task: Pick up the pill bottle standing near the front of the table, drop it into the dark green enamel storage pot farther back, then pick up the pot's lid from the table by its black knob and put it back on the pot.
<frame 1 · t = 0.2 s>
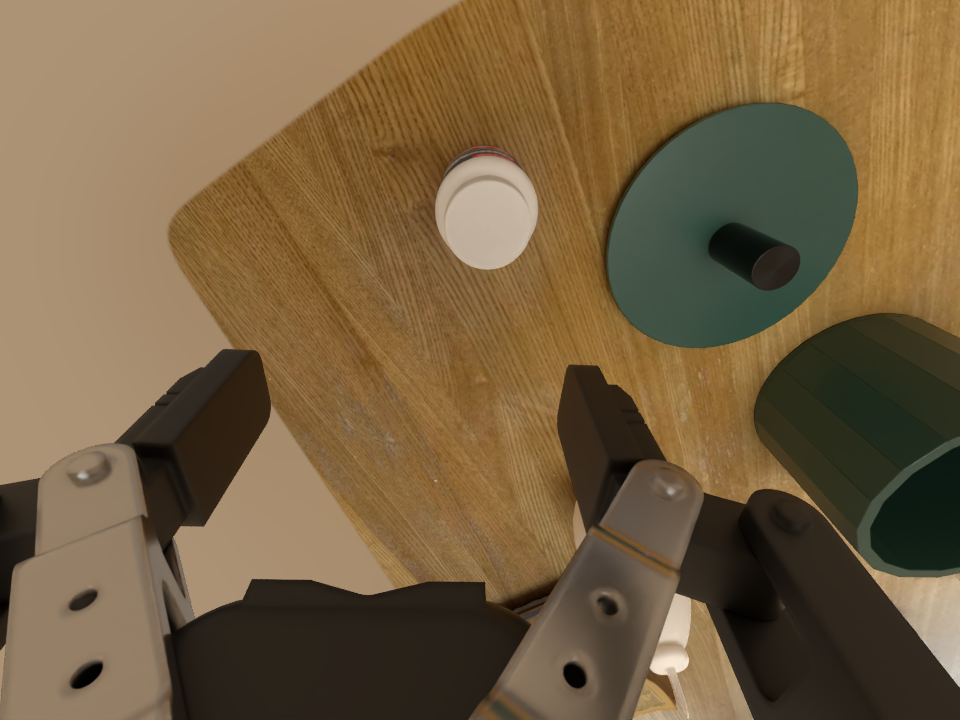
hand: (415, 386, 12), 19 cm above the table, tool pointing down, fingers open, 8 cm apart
pill bottle: (483, 190, 27), on the table
white rubber bulb blower: (603, 481, 41), on the table
book: (564, 639, 55), on the table
lid: (724, 240, 29), point 1 cm above the table
pot: (845, 393, 36), on the table
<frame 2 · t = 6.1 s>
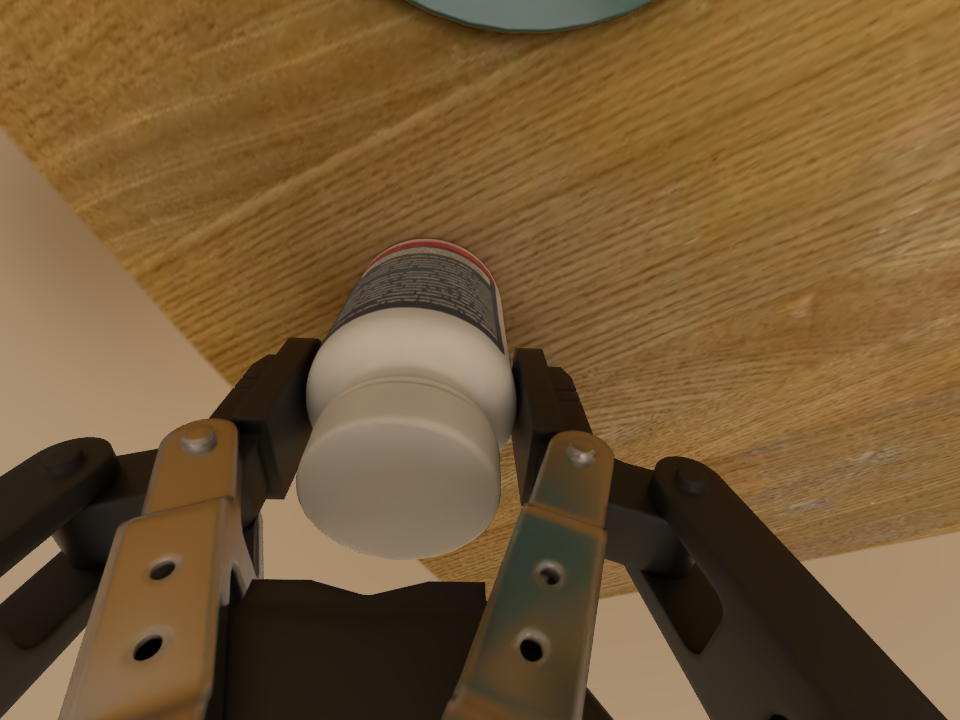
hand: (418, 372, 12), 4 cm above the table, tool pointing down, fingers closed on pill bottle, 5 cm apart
pill bottle: (430, 305, 16), on the table, touching gripper
when the fingers open (9 cm above the table, at t = 15.0 s): pill bottle drops 4 cm, resting on pot.
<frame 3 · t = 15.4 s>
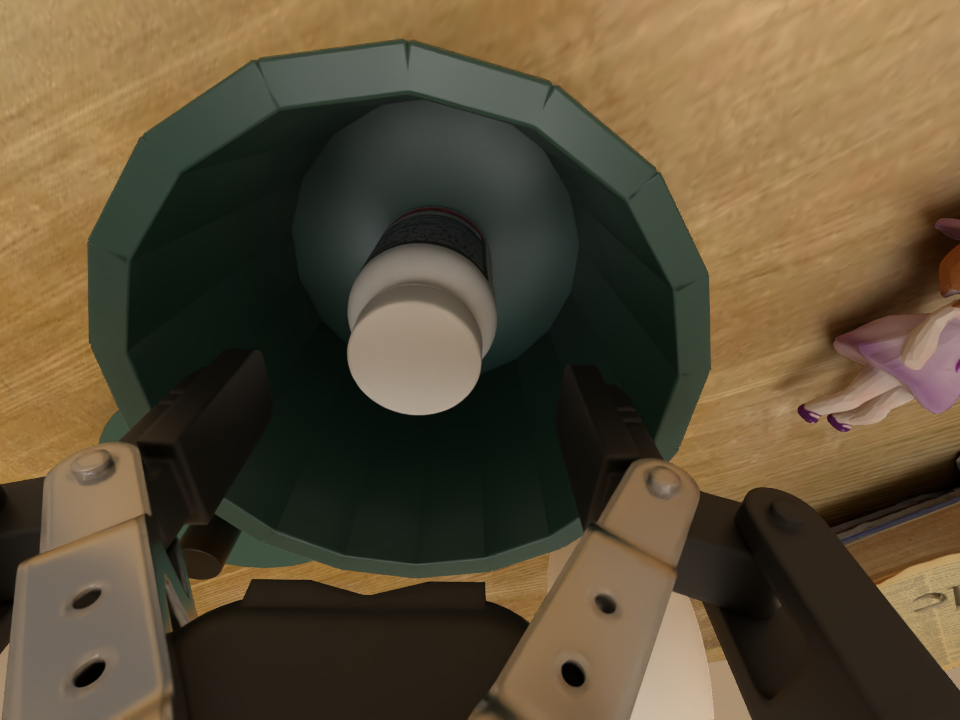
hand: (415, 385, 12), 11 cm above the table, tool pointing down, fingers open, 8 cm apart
pill bottle: (435, 261, 21), resting on pot
white rubber bulb blower: (590, 514, 31), on the table
lid: (241, 484, 27), point 1 cm above the table
figurine: (890, 282, 22), on the table
pot: (438, 258, 21), on the table
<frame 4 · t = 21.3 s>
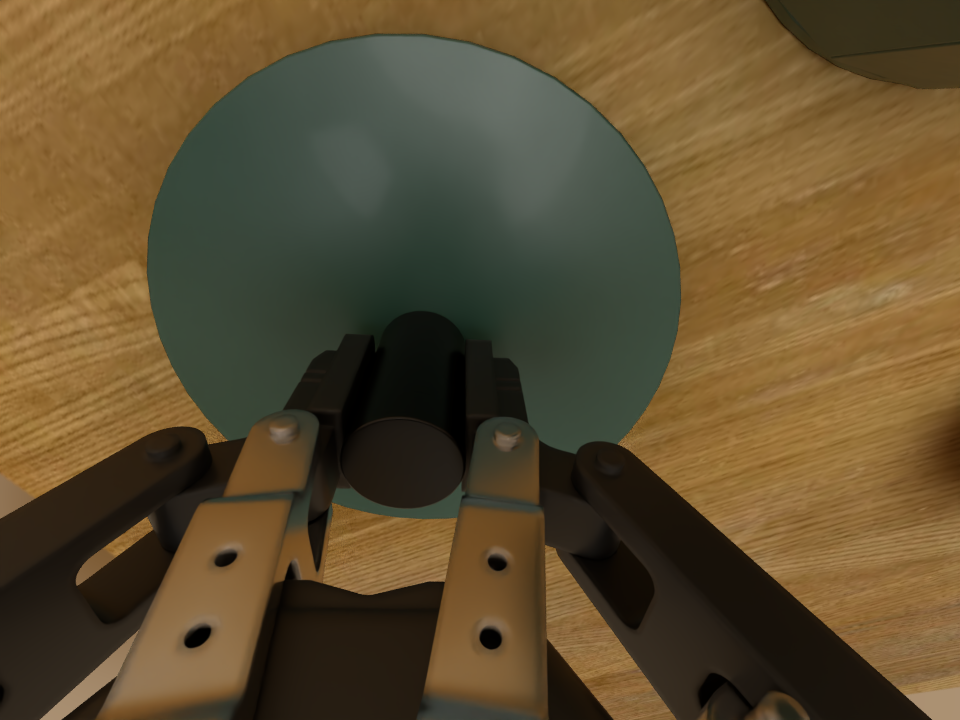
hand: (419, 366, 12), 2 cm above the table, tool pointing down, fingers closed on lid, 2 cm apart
lid: (424, 341, 14), point 1 cm above the table, touching gripper
when the fingers open (13 cm above the table, at t = 29.4 s): lid stays where it is, resting on pot.
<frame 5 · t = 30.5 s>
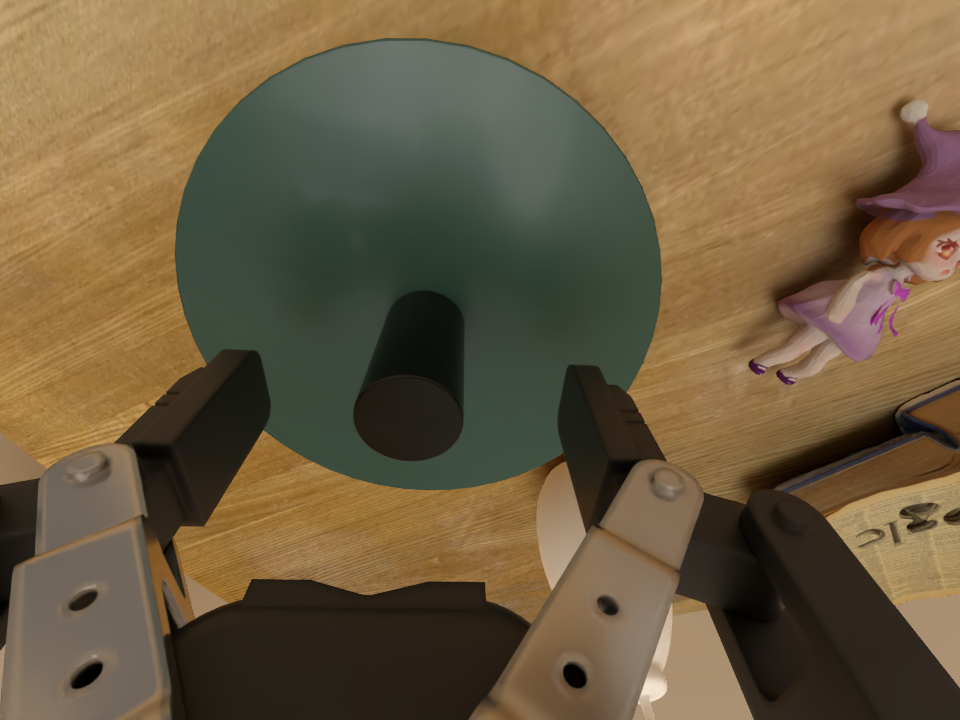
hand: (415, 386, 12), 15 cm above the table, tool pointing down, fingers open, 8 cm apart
white rubber bulb blower: (575, 466, 35), on the table
book: (911, 467, 36), on the table
lid: (426, 320, 15), point 11 cm above the table, touching pot
figurine: (824, 254, 26), on the table
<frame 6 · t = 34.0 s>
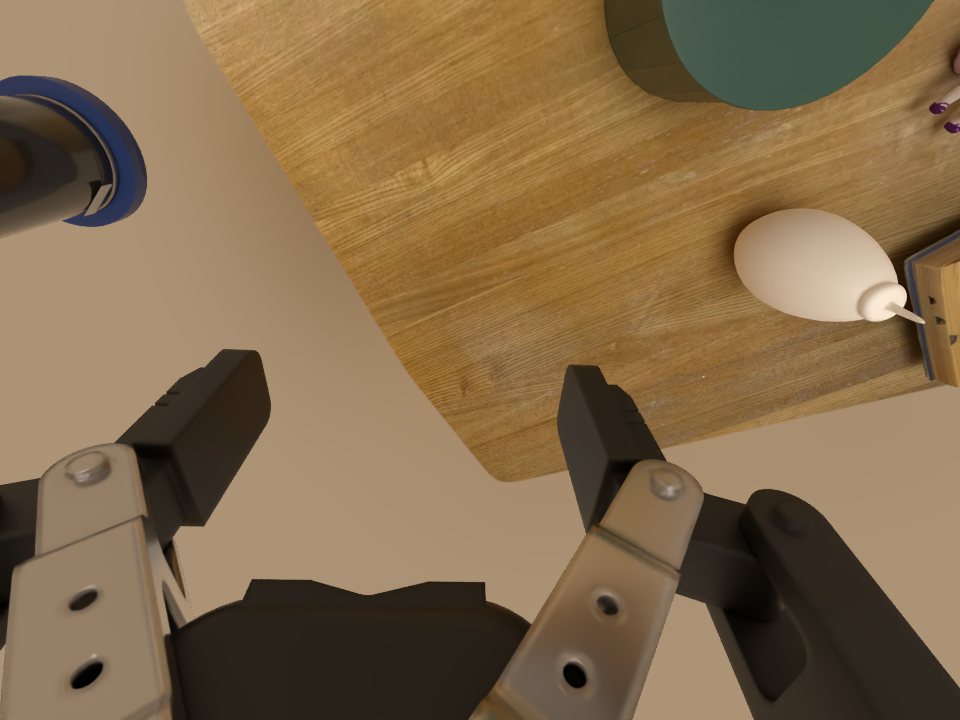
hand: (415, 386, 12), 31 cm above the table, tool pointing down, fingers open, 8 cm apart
white rubber bulb blower: (753, 239, 42), on the table
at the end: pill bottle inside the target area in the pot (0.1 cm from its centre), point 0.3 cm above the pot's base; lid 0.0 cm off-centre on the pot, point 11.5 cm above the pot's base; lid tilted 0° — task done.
